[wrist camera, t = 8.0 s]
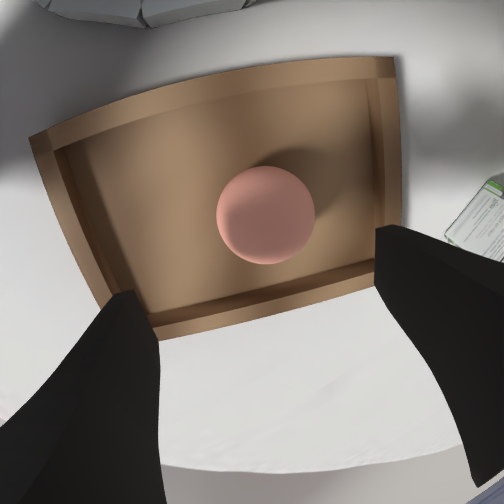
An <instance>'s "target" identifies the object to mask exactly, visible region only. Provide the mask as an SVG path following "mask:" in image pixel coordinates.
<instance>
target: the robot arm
mask: <svg viewBox="0 0 504 504" xmlns="http://www.w3.org/2000/svg"><path fill="white" fill-rule="evenodd" d="M374 285H375V287H376V289H377V290H378V292H379V294H380V296H381V298H382V300H383V301H384V303H385V305H386V307H387V308H388V310H389V311H390V313H391V314H392V315H393V317H394V318H395V320H396V321H397V322H398V324H399V325H400V326H401V328H402V329H403V330H404V332H405V333H406V335H407V336H408V337H409V339H410V340H411V341H412V343H413V344H414V346H415V347H416V348H417V350H418V351H419V353H420V354H421V355H422V357H423V358H424V360H425V361H426V363H427V364H428V366H429V368H430V369H431V371H432V373H433V375H434V377H435V379H436V381H437V383H438V385H439V386H440V388H441V390H442V392H443V395H444V397H445V399H446V401H447V403H448V406H449V408H450V410H451V413H452V415H453V417H454V420H455V423H456V425H457V428H458V431H459V434H460V436H461V439H462V442H463V445H464V449H465V452H466V456H467V459H468V463H469V467H470V472H471V477H472V479H473V481H474V483H475V485H476V486H477V487H478V488H479V487H480V486H482V485H483V484H485V483H486V482H487V481H489V480H490V479H492V478H493V477H494V476H496V475H497V474H498V473H500V472H501V471H502V470H504V263H503V262H500V261H496V260H493V259H490V258H487V257H484V256H481V255H478V254H475V253H473V252H470V251H467V250H464V249H461V248H459V247H456V246H454V245H451V244H448V243H446V242H443V241H440V240H438V239H435V238H433V237H430V236H427V235H425V234H422V233H419V232H417V231H414V230H411V229H408V228H405V227H402V226H398V225H394V224H391V225H387V226H383V227H379V228H375V266H374ZM159 391H160V355H159V342H158V338H157V336H156V334H155V332H154V330H153V328H152V326H151V324H150V322H149V320H148V318H147V316H146V314H145V312H144V310H143V308H142V306H141V304H140V302H139V300H138V298H137V296H136V294H135V291H134V289H132V290H128V291H124V292H120V293H116V294H114V295H113V296H112V297H111V298H110V299H109V301H108V302H107V303H106V304H105V306H104V307H103V308H102V310H101V311H100V312H99V313H98V315H97V316H96V317H95V319H94V320H93V321H92V323H91V324H90V325H89V327H88V328H87V330H86V331H85V332H84V334H83V335H82V336H81V338H80V339H79V340H78V342H77V343H76V344H75V346H74V347H73V348H72V349H71V351H70V352H69V353H68V354H67V356H66V357H65V358H64V360H63V361H62V362H61V364H60V365H59V366H58V367H57V369H56V370H55V371H54V372H53V374H52V375H51V376H50V377H49V378H48V379H47V381H46V382H45V383H44V384H43V385H42V386H41V387H40V388H39V390H38V391H37V392H36V393H35V394H34V395H33V396H32V397H31V398H30V399H29V400H28V401H27V402H26V403H25V404H24V405H23V406H22V407H21V408H20V409H19V410H18V411H17V412H16V413H15V414H14V415H13V416H12V417H11V418H10V419H9V420H8V421H7V422H6V423H5V424H4V425H2V426H1V427H0V504H167V502H166V497H165V491H164V485H163V480H162V473H161V465H160V457H159V448H158V416H159ZM466 504H504V477H503V478H501V479H500V480H499V481H498V482H496V483H495V484H493V485H492V486H491V487H489V488H488V489H487V490H485V491H484V492H482V493H481V494H479V495H478V496H476V497H475V498H473V499H472V500H470V501H469V502H467V503H466Z"/></svg>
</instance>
